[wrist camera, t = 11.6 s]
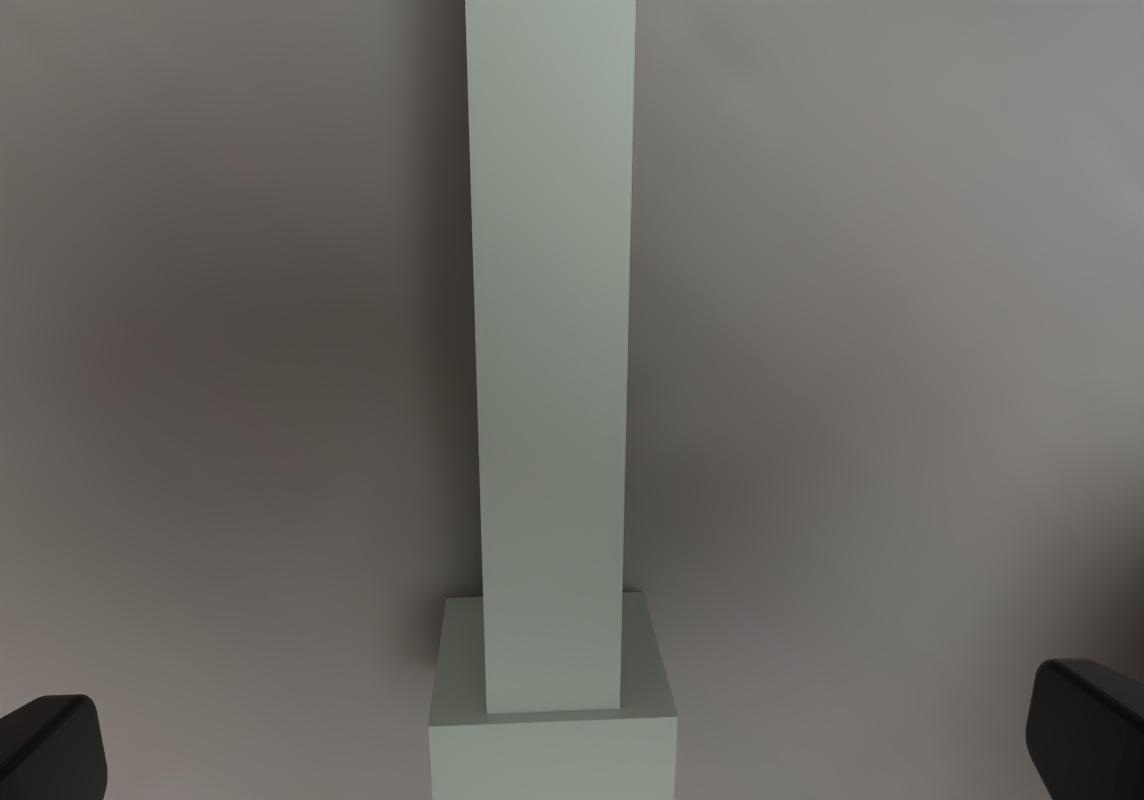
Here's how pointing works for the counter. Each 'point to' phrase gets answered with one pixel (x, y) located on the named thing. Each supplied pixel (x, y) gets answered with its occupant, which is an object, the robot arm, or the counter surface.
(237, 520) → the counter surface
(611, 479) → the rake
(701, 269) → the counter surface
